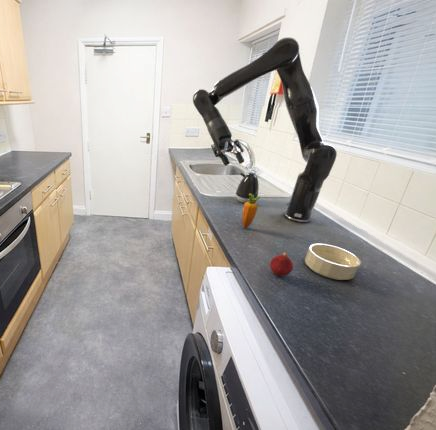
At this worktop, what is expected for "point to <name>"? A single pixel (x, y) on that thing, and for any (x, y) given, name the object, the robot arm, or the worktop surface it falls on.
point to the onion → (281, 265)
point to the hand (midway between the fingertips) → (235, 163)
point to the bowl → (332, 261)
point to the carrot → (249, 211)
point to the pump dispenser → (247, 187)
